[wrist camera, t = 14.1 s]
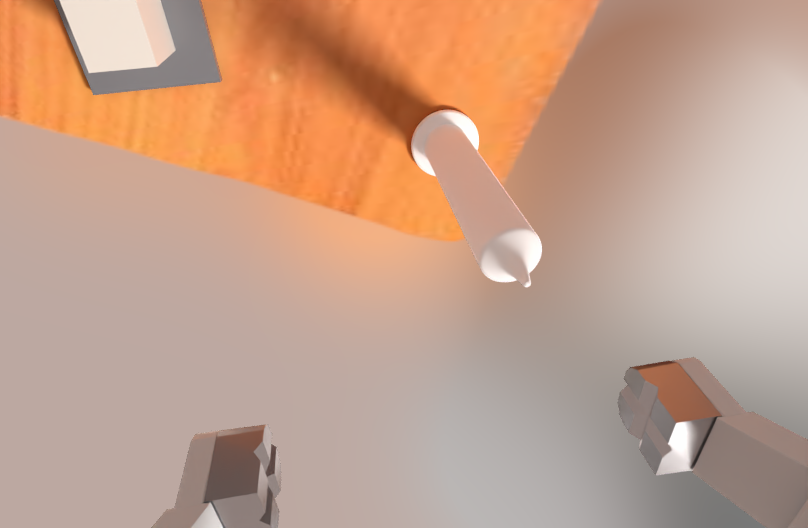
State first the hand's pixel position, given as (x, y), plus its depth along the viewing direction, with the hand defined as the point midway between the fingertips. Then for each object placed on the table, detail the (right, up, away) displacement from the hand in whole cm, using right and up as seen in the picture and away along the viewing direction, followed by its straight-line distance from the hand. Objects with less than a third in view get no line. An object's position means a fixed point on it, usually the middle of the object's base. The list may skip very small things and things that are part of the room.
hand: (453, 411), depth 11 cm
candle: (+3, +16, +41) cm, 44 cm away
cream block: (-23, +23, +30) cm, 44 cm away
